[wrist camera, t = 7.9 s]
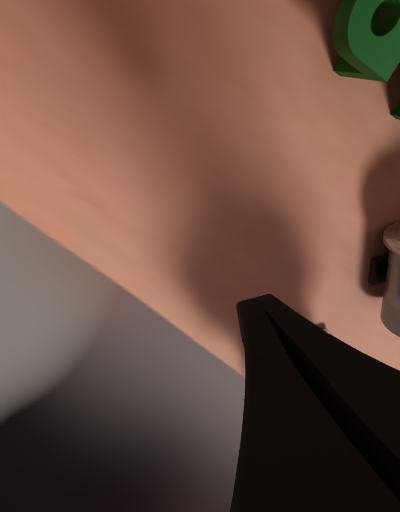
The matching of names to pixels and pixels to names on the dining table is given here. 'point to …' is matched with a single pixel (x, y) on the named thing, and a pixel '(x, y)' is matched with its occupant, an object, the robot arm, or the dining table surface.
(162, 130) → the dining table surface
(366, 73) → the clamp
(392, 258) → the pipe run
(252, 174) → the dining table surface
